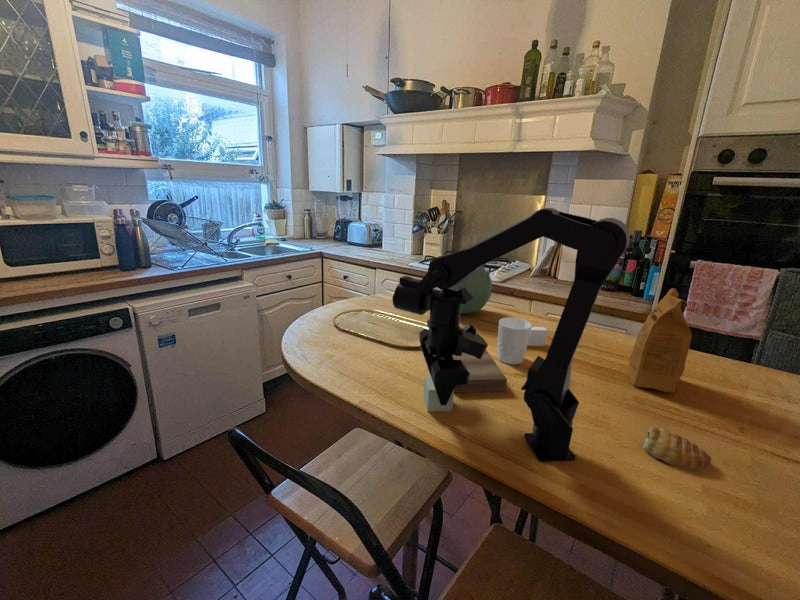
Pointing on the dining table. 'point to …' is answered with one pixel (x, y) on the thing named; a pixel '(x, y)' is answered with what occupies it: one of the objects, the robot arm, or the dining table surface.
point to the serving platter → (402, 319)
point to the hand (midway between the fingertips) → (438, 391)
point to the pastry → (676, 450)
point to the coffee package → (661, 346)
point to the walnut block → (481, 374)
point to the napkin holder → (537, 336)
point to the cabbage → (476, 290)
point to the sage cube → (434, 397)
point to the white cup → (512, 340)
